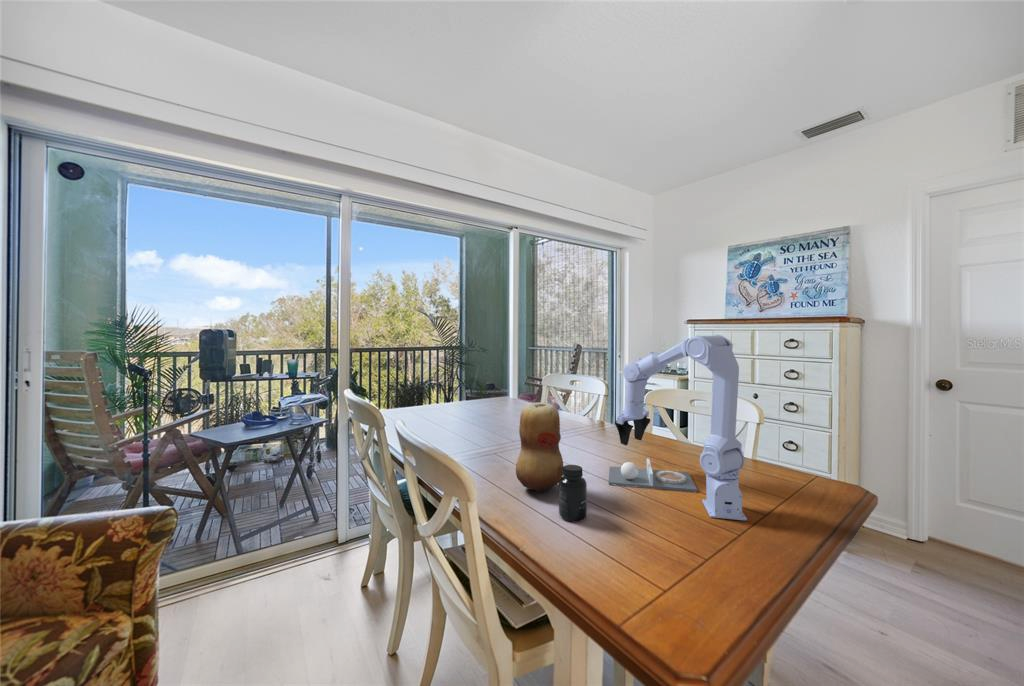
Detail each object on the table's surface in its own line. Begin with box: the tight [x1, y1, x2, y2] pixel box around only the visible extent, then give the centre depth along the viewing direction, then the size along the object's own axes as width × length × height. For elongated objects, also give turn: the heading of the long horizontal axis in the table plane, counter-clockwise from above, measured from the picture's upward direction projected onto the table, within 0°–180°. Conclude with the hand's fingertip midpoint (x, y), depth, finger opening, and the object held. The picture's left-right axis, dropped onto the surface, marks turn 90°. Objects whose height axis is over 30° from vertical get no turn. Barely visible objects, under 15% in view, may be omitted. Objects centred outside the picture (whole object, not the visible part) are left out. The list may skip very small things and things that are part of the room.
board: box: [608, 458, 698, 493], centre depth 117 cm, size 14×24×4 cm, turn 74°
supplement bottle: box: [558, 464, 588, 523], centre depth 94 cm, size 7×7×12 cm
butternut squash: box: [515, 401, 564, 492], centre depth 111 cm, size 14×13×25 cm
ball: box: [620, 461, 639, 480], centre depth 116 cm, size 5×5×5 cm
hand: (631, 441), depth 122 cm, fingers open, 7 cm apart
